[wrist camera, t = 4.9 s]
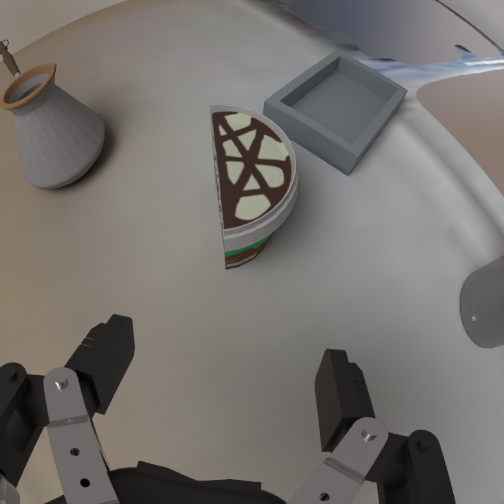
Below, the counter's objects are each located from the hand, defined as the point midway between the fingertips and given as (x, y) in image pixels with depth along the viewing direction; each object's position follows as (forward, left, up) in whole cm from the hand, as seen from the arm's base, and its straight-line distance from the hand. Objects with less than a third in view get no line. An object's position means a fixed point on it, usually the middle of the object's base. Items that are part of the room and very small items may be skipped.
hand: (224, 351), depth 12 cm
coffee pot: (+27, -21, -14) cm, 37 cm away
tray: (-9, -31, -14) cm, 36 cm away
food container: (0, -13, -14) cm, 20 cm away
